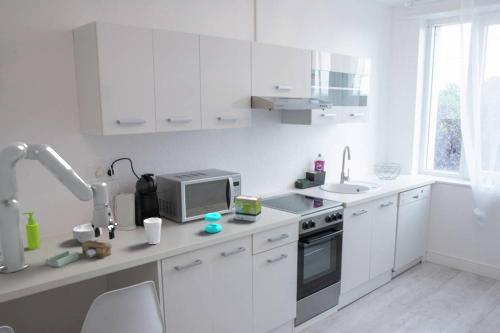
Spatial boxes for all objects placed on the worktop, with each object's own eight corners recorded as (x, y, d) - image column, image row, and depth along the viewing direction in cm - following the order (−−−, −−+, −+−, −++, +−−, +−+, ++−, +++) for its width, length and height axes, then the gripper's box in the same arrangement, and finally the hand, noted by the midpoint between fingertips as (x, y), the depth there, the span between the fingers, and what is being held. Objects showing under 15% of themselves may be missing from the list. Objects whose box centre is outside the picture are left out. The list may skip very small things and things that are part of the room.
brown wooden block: (103, 258, 198) (102, 246, 197) (82, 254, 204) (81, 243, 203) (110, 254, 203) (110, 243, 202) (90, 251, 208) (89, 240, 207)
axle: (92, 258, 198) (90, 250, 198) (86, 258, 200) (84, 250, 200) (112, 249, 211) (111, 241, 210) (106, 248, 213) (105, 241, 212)
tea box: (235, 219, 260) (234, 197, 258) (241, 215, 270) (240, 194, 267) (256, 222, 255) (255, 199, 252) (261, 217, 264) (261, 196, 261)
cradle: (59, 267, 188) (59, 261, 187) (46, 264, 192) (45, 258, 191) (79, 258, 199) (79, 252, 198) (66, 255, 202) (65, 250, 202)
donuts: (211, 211, 244) (224, 213, 239) (211, 227, 245) (225, 229, 240) (201, 215, 235) (214, 218, 230) (201, 231, 237) (215, 234, 232)
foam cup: (146, 246, 213) (144, 223, 211) (144, 241, 222) (142, 219, 220) (163, 244, 217) (162, 221, 215) (161, 239, 225) (159, 217, 223)
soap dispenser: (26, 247, 216) (22, 211, 213) (41, 245, 219) (37, 210, 215) (25, 250, 211) (21, 214, 207) (40, 248, 213) (36, 212, 210)
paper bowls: (74, 238, 230) (73, 224, 228) (102, 234, 235) (101, 221, 234) (73, 246, 216) (71, 232, 214) (102, 242, 221) (101, 229, 220)
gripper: (119, 205, 205) (122, 237, 207) (94, 203, 211) (97, 233, 214) (109, 209, 198) (112, 242, 201) (83, 206, 205) (87, 238, 208)
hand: (104, 237), depth 208 cm, fingers open, 9 cm apart
